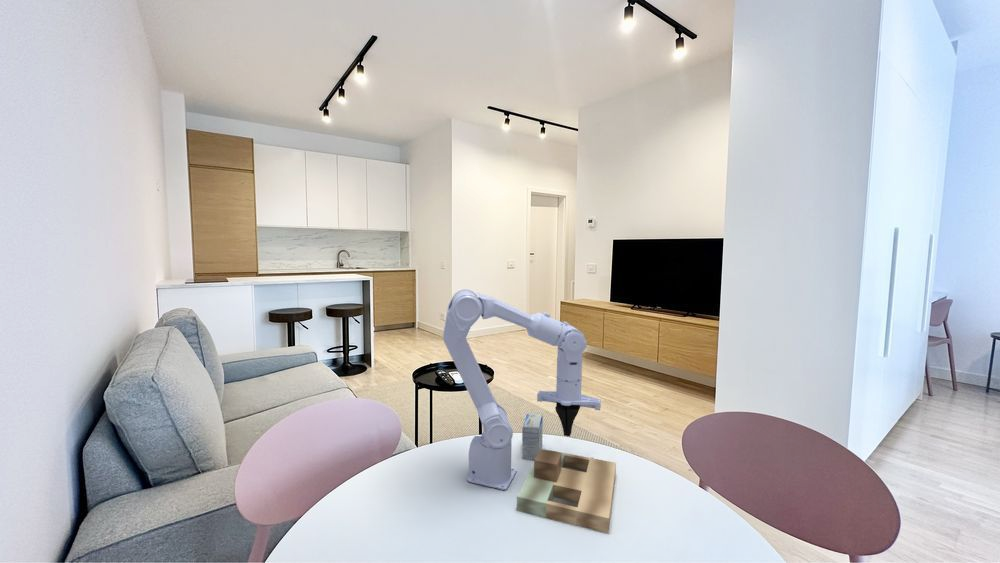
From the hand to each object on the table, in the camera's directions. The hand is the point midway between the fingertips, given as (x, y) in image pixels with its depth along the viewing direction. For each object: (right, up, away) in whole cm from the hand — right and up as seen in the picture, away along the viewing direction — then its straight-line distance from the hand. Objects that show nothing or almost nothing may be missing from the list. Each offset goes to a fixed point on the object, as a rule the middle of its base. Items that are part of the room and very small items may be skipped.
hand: (567, 434), depth 92 cm
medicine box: (-7, -9, +10) cm, 15 cm away
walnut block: (-5, -7, -5) cm, 10 cm away
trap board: (-1, -10, -6) cm, 12 cm away
